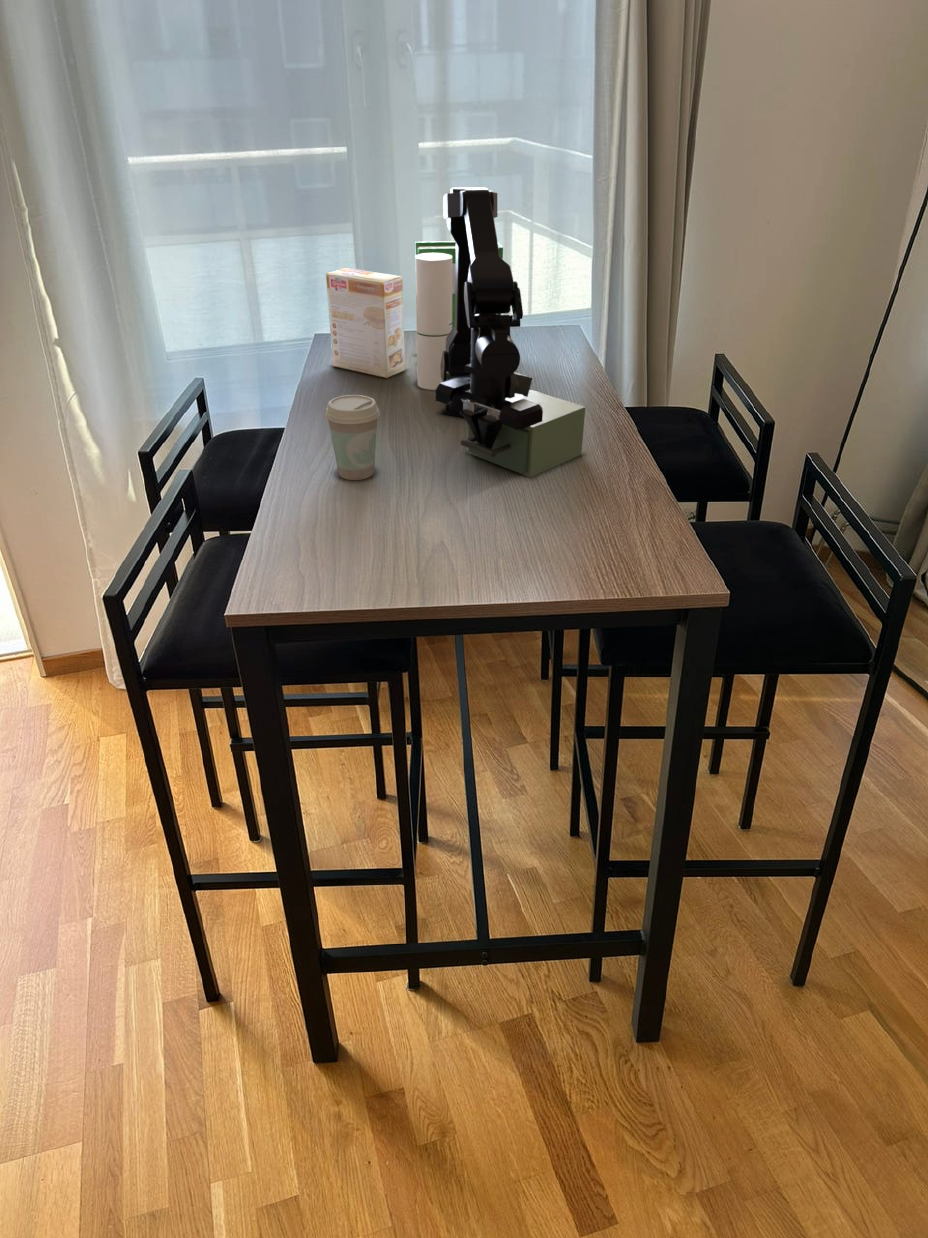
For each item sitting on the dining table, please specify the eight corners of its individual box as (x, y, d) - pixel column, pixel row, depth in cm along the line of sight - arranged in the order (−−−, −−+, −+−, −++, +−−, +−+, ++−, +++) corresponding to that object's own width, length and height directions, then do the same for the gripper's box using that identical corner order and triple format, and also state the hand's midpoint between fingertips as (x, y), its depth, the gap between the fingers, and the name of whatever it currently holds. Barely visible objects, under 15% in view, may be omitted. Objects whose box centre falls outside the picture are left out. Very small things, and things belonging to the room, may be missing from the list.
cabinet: (530, 477, 146) (533, 427, 141) (470, 454, 154) (471, 406, 149) (581, 454, 154) (585, 406, 149) (522, 433, 162) (524, 387, 157)
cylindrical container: (456, 380, 186) (457, 254, 173) (445, 391, 181) (444, 261, 167) (425, 376, 188) (423, 251, 174) (412, 387, 182) (409, 258, 169)
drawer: (503, 482, 142) (504, 441, 138) (448, 459, 149) (448, 421, 145) (570, 452, 152) (574, 414, 149) (516, 433, 160) (518, 396, 156)
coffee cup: (341, 487, 142) (336, 415, 135) (322, 468, 148) (317, 398, 141) (390, 477, 145) (387, 406, 138) (370, 459, 151) (366, 390, 145)
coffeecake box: (406, 370, 192) (403, 275, 181) (386, 378, 187) (382, 282, 176) (351, 358, 199) (346, 266, 188) (331, 366, 194) (324, 272, 183)
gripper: (568, 361, 137) (561, 456, 145) (481, 336, 148) (479, 425, 156) (520, 376, 130) (516, 475, 139) (432, 349, 141) (433, 442, 150)
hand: (486, 453), depth 146 cm, fingers closed, pressing on drawer
